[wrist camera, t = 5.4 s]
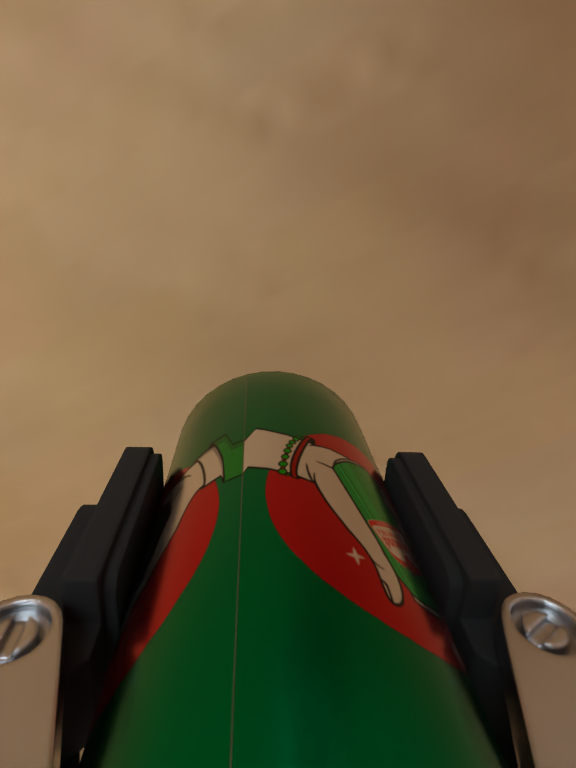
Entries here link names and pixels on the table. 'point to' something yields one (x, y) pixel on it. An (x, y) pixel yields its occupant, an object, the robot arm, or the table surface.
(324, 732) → the soda can
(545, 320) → the table surface
